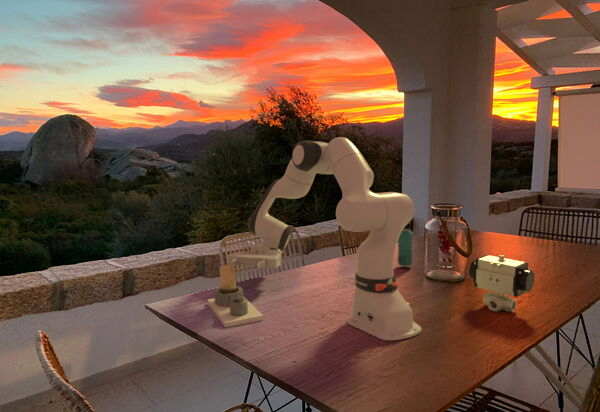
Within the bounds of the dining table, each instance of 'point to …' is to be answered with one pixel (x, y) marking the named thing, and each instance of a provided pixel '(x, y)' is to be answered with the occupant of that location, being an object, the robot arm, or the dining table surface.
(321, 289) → the dining table surface
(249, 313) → the fitting plate
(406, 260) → the beverage bottle
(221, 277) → the amber cylinder
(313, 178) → the robot arm
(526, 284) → the ball valve
